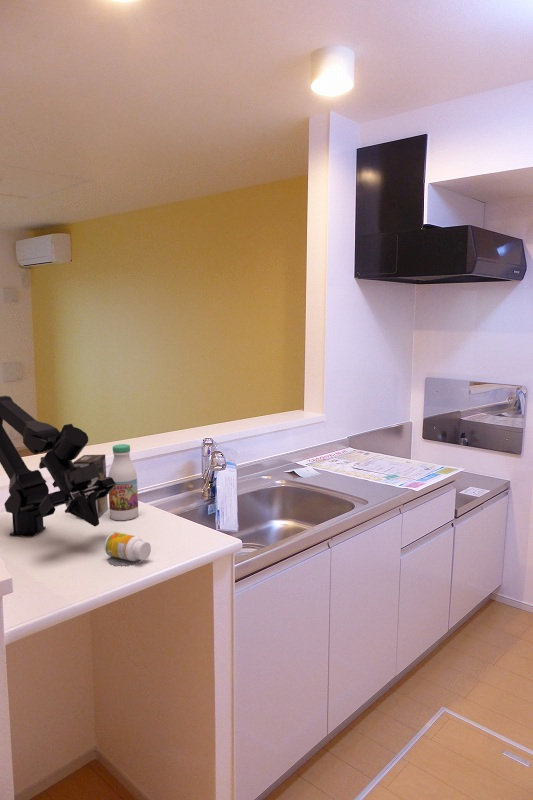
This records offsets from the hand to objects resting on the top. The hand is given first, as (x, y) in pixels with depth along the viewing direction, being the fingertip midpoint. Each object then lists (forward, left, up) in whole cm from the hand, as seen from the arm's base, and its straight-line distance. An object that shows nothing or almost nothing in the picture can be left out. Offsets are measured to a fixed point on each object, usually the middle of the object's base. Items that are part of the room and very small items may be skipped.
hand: (97, 525), depth 135 cm
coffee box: (-15, +26, -7) cm, 31 cm away
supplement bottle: (+4, -1, -4) cm, 6 cm away
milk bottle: (-5, +25, -7) cm, 27 cm away
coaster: (+8, -3, -7) cm, 11 cm away
